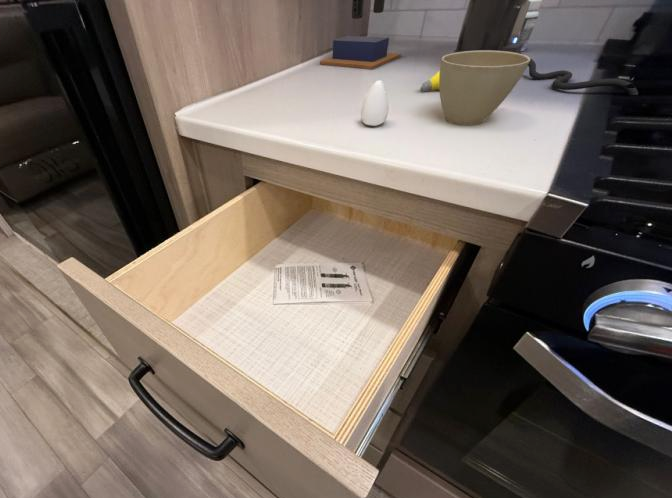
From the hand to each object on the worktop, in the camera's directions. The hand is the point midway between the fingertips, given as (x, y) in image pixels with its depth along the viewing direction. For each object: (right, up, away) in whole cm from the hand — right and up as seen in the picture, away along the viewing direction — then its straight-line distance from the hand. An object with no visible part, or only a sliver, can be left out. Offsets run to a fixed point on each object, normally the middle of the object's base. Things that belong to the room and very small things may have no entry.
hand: (367, 15), depth 71 cm
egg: (-6, -37, -24) cm, 44 cm away
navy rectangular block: (-1, -5, +5) cm, 8 cm away
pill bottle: (+33, -6, +2) cm, 34 cm away
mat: (0, -6, +6) cm, 8 cm away
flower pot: (+6, -37, -25) cm, 45 cm away
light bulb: (+8, -26, -14) cm, 31 cm away
